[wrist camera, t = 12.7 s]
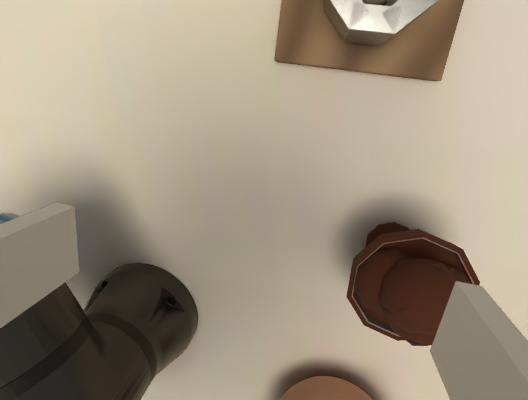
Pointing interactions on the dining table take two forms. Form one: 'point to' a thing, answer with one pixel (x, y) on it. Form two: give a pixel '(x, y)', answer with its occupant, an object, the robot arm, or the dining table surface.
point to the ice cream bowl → (406, 282)
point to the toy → (325, 390)
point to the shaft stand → (362, 55)
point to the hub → (373, 19)
